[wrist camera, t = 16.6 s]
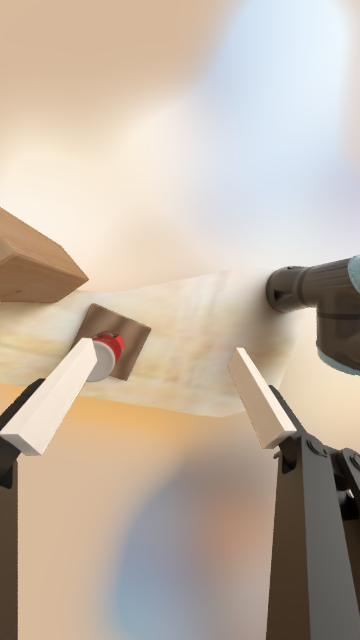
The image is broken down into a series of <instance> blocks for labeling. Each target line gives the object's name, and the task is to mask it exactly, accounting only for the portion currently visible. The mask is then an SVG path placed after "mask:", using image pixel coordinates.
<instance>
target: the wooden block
mask: <svg viewBox="0 0 360 640" xmlns="http://www.w3.org/2000/svg"><path fill="white" fill-rule="evenodd" d="M88 280H89V279H88V277H87V276H86V275H85V274H84V272H83V271H82V270H81V269H80V268H79V267H78V265H77V264H76V263H75V262H74V261H73V259H72V258H71V257H70V256H69V255H68V254H67V252H66V251H65V250H64V249H63V248H62V247H61V246H60V245H59V244H57V243H56V242H54V241H52V240H51V239H49V238H48V237H46V236H45V235H43V234H42V233H40V232H38V231H37V230H35V229H34V228H32V227H31V226H29V225H27V224H26V223H24V222H23V221H21V220H19V219H18V218H16V217H15V216H13V215H12V214H10V213H9V212H7V211H5V210H4V209H2V208H1V207H0V302H58V301H59V300H61V299H62V298H63V297H65V296H66V295H68V294H69V293H71V292H72V291H74V290H75V289H77V288H78V287H80V286H81V285H82V284H84V283H85V282H87V281H88Z"/></svg>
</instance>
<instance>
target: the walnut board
mask: <svg viewBox="0 0 360 640" xmlns="http://www.w3.org/2000/svg"><path fill="white" fill-rule="evenodd" d="M104 331H113V332H116V333H117V334H119V335H120V336H121V337H122V339H123V342H124V350H123V352H122V354H121V356H120V358H119V359H118V361H117V363H116V365H115V367H114V368H113V370H112V371H111V373H110V374H109V375H110V376H113V377H116V378H119V379H122V380H125V381H127V379H128V377H129V375H130V373H131V371H132V368H133V366H134V364H135V362H136V360H137V358H138V356H139V354H140V352H141V350H142V348H143V345H144V343H145V341H146V339H147V337H148V335H149V333H150V331H151V328H150V327H147V326H145V325H143V324H141V323H138V322H136V321H134V320H131V319H129V318H127V317H124V316H122V315H120V314H118V313H115V312H113V311H111V310H108V309H106V308H104V307H102V306H99V305H97V304H91V306H90V309H89V311H88V313H87V315H86V317H85V319H84V321H83V324H82V326H81V328H80V330H79V332H78V334H77V336H76V338H75V341H74V343H73V345H72V347H71V349H70V351H71V350H72V349H73V348H74V347H75V345H76V344H77V343H78V342H79V341H80V340H81V339H82V338H92V337H94V336H96V335H97V334H99V333H101V332H104ZM70 351H69V352H70Z"/></svg>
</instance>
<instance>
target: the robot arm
mask: <svg viewBox="0 0 360 640" xmlns="http://www.w3.org/2000/svg"><path fill="white" fill-rule="evenodd" d="M267 298H268V301H269V303H270V305H271V306H272V307H273V308H274V309H275V310H277V311H281V312H292V311H295V310H300V309H304V308H308V307H314V308H316V310H317V340H316V346H317V350H318V355H319V357H320V359H321V360H322V361H323V362H324V363H326V364H327V365H329V366H331V367H332V368H334V369H336V370H339V371H341V372H344V373H347V374H351V375H359V376H360V255H357V256H354V257H353V258H349V259H344V260H340V261H335V262H331V263H326V264H322V265H317V266H313V267H301V266H289V267H284V268H281V269H279V270H277V271H276V272H275V273H274V274H273V275H272V276H271V278H270V279H269V282H268V285H267ZM96 362H97V357H96V353H95V349H94V345H93V342H92V338H82V339H81V340H80V341H79V342H78V343H77V344H76V345H75V347H74V348H73V349H72V350H71V351H70V352H69V353H68V355H67V356H66V357H65V358H64V359H63V360H62V361H61V363H60V364H59V365H58V366H57V367H56V368H55V369H54V371H53V372H52V373H51V374H50V375H49V376H48V377H47V379H38V380H36V381H35V382H33V383H32V384H31V385H29V386H28V387H27V388H26V389H25V390H24V391H23V392H22V393H21V395H20V396H19V397H18V398H17V399H16V400H15V401H14V403H13V404H11V405H10V406H9V407H8V408H7V409H6V410H5V411H4V412H3V413H2V415H1V416H0V640H18V626H17V625H18V593H17V592H18V589H17V588H18V584H17V583H18V570H17V569H18V565H17V564H18V562H17V561H18V558H17V557H18V555H17V554H18V550H17V549H18V547H17V546H18V540H17V539H18V521H17V520H18V518H17V517H18V516H17V515H18V508H17V507H18V504H17V503H18V499H17V498H18V494H17V493H18V491H17V489H18V488H17V487H18V486H17V485H18V476H17V475H18V470H17V468H18V465H17V464H18V462H17V460H16V459H17V457H18V456H19V454H20V453H21V452H22V453H23V454H25V455H27V456H31V455H42V454H43V452H44V451H45V449H46V447H47V446H48V444H49V442H50V441H51V439H52V437H53V435H54V434H55V432H56V430H57V429H58V427H59V425H60V424H61V422H62V420H63V418H64V416H65V415H66V413H67V412H68V410H69V408H70V407H71V405H72V403H73V401H74V400H75V398H76V396H77V395H78V393H79V391H80V390H81V388H82V386H83V385H84V383H85V381H86V379H87V378H88V376H89V374H90V373H91V371H92V369H93V368H94V366H95V364H96ZM228 369H229V372H230V374H231V376H232V379H233V381H234V383H235V386H236V388H237V390H238V393H239V395H240V397H241V400H242V402H243V404H244V406H245V409H246V411H247V413H248V416H249V418H250V420H251V423H252V425H253V427H254V430H255V432H256V434H257V437H258V439H259V441H260V444H261V446H262V448H263V449H274V448H275V447H276V446H279V447H280V451H279V452H277V453H276V454H274V457H273V458H274V459H276V458H277V457H279V460H278V475H277V490H276V504H275V518H274V532H273V546H272V560H271V576H270V590H269V603H268V618H267V632H266V640H360V454H358V453H357V452H355V451H354V450H352V449H349V448H344V449H342V450H340V451H339V450H336V449H333V448H331V447H328V446H326V445H323V444H322V443H321V442H320V441H319V440H318V439H317V438H315V437H314V436H312V435H310V434H308V433H307V432H306V431H305V429H304V428H303V426H302V425H301V423H300V422H299V420H298V419H297V418H296V416H295V415H294V413H293V412H292V410H291V409H290V408H289V406H288V405H287V403H286V402H285V400H283V397H282V396H281V395H280V393H279V392H278V391H277V390H276V389H275V388H274V387H273V386H272V385H267V383H266V382H265V380H264V379H263V377H262V376H261V374H260V373H259V371H258V369H257V368H256V366H255V365H254V363H253V362H252V360H251V359H250V357H249V356H248V354H247V353H246V351H245V349H244V348H236V349H235V351H234V354H233V356H232V358H231V360H230V362H229V364H228ZM349 489H351V492H352V494H353V496H354V498H353V497H352V496H351V494H350V493H349Z"/></svg>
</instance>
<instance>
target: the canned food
mask: <svg viewBox="0 0 360 640" xmlns="http://www.w3.org/2000/svg"><path fill="white" fill-rule="evenodd" d="M92 342H93V345H94V349H95V353H96V357H97V362H96V364H95V366H94V368H93V369H92V371H91V373H90V374H89V376H88V378H87V379H86V381H87V382H96V381H100V380H102V379H104V378H106V377H107V376H108V375H109V374H110V373H111V371H112V370H113V368H114V367H115V365H116V363H117V361H118V359H119V358H120V356H121V354H122V352H123V350H124V342H123V339H122V337H121V336H120V335H119V334H117V333H116V332H113V331H104V332H101V333H99V334H97V335H96V336H94V337H92Z"/></svg>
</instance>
